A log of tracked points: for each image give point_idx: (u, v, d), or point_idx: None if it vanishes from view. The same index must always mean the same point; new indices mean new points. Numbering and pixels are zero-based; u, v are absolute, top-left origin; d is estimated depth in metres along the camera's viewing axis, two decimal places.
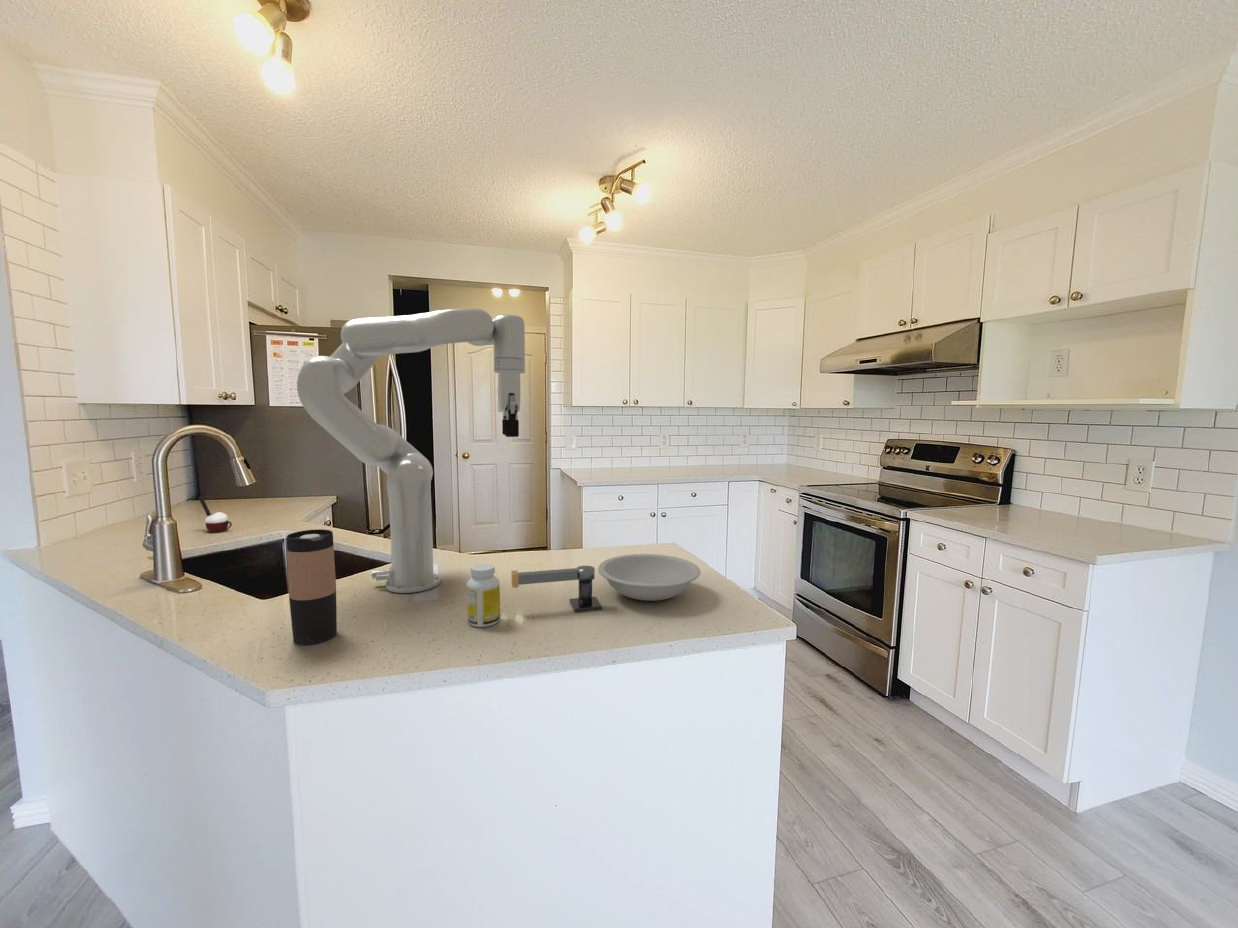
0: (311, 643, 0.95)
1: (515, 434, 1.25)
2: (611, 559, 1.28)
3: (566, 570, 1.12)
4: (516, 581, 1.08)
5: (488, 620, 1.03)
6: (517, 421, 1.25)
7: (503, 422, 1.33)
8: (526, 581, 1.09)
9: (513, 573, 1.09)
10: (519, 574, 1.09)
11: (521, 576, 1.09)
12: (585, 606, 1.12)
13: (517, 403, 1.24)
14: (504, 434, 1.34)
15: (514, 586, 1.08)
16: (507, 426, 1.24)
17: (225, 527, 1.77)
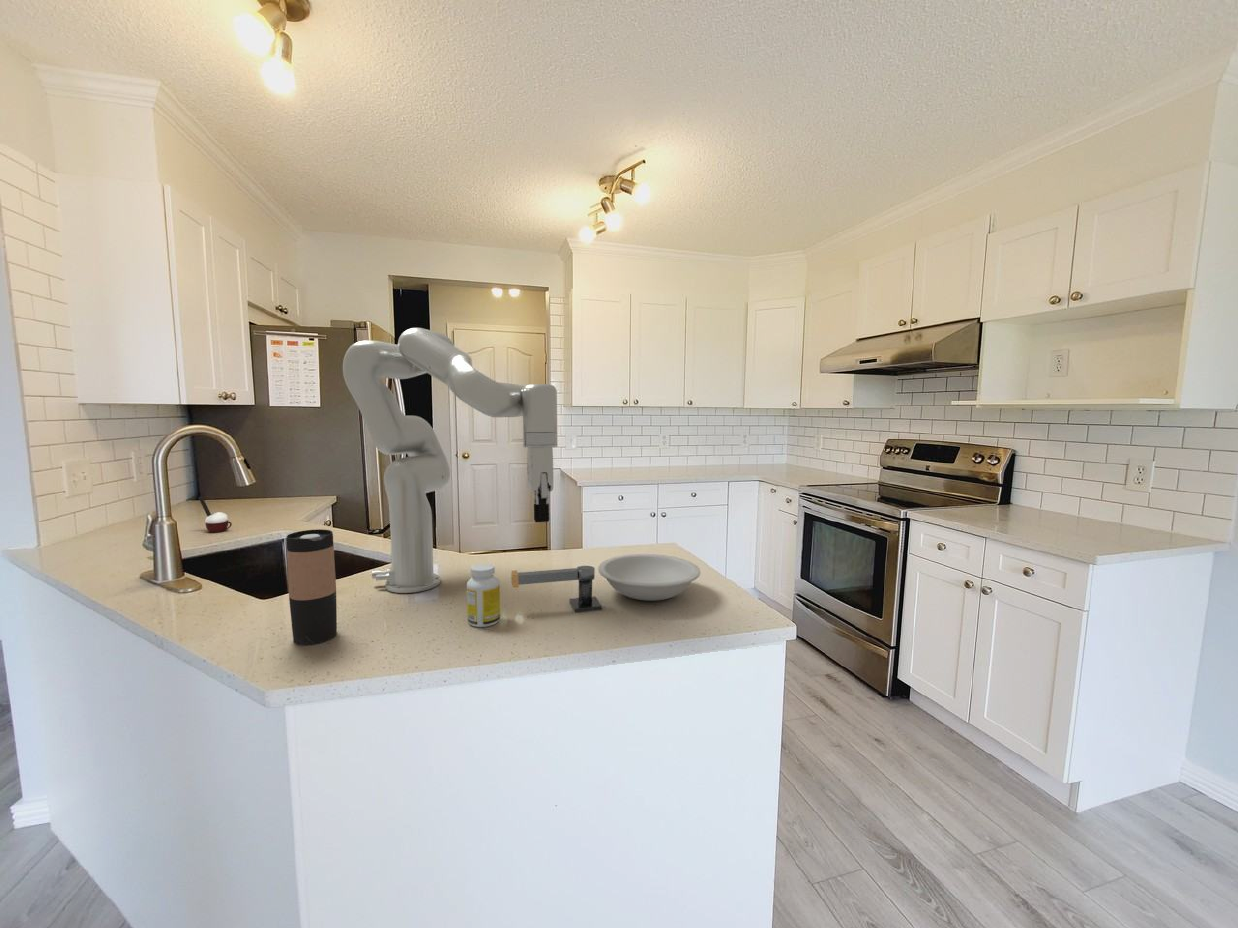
0: (311, 643, 0.95)
1: (545, 519, 1.16)
2: (611, 559, 1.28)
3: (566, 570, 1.12)
4: (516, 581, 1.08)
5: (488, 620, 1.03)
6: (547, 505, 1.16)
7: None
8: (526, 581, 1.09)
9: (513, 573, 1.09)
10: (519, 574, 1.09)
11: (521, 576, 1.09)
12: (585, 606, 1.12)
13: (549, 491, 1.13)
14: None
15: (514, 586, 1.08)
16: (537, 511, 1.15)
17: (225, 527, 1.77)
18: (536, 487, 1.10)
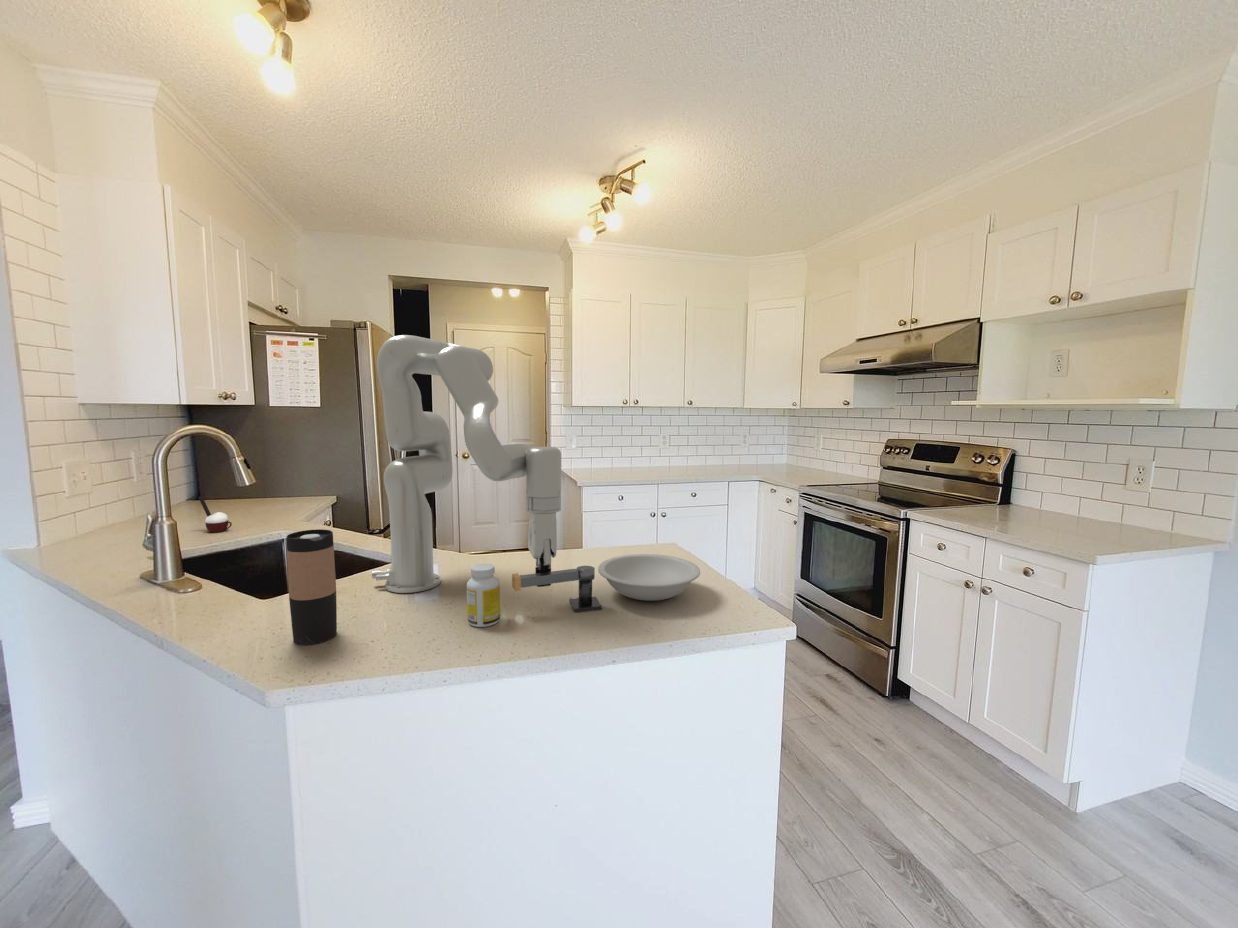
0: (311, 643, 0.95)
1: None
2: (611, 559, 1.28)
3: (567, 571, 1.12)
4: (518, 584, 1.06)
5: (488, 620, 1.03)
6: (549, 569, 1.13)
7: None
8: (529, 584, 1.08)
9: (515, 576, 1.07)
10: (521, 577, 1.08)
11: (523, 579, 1.07)
12: (585, 606, 1.12)
13: None
14: None
15: (516, 589, 1.06)
16: None
17: (225, 527, 1.77)
18: (539, 554, 1.08)
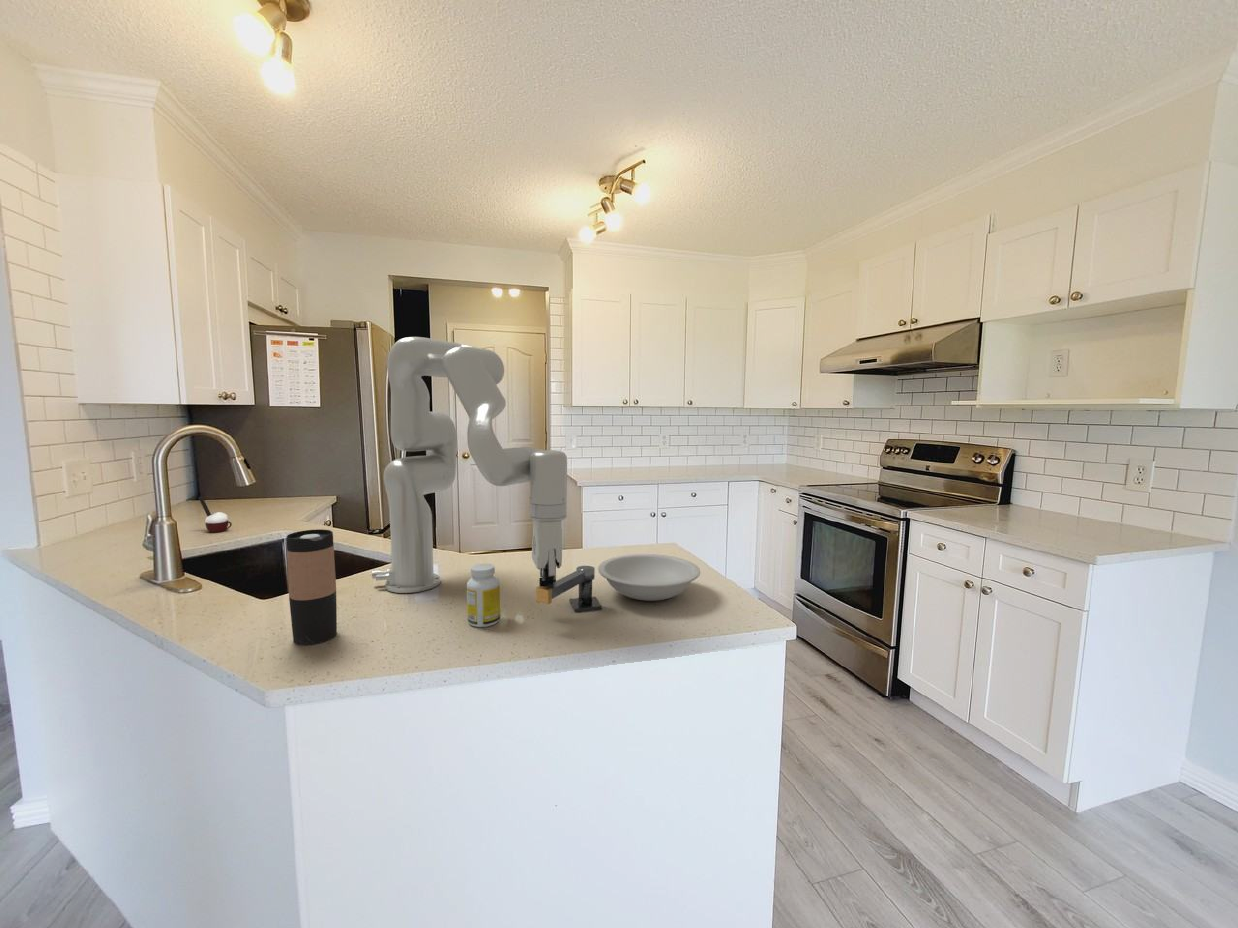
0: (311, 643, 0.95)
1: None
2: (611, 559, 1.28)
3: (575, 574, 1.10)
4: (550, 596, 1.00)
5: (488, 620, 1.03)
6: (554, 580, 1.07)
7: None
8: (555, 594, 1.02)
9: (545, 589, 1.00)
10: None
11: (552, 590, 1.01)
12: (585, 606, 1.12)
13: (557, 567, 1.04)
14: None
15: (549, 602, 1.00)
16: (543, 586, 1.06)
17: (225, 527, 1.77)
18: (543, 565, 1.01)
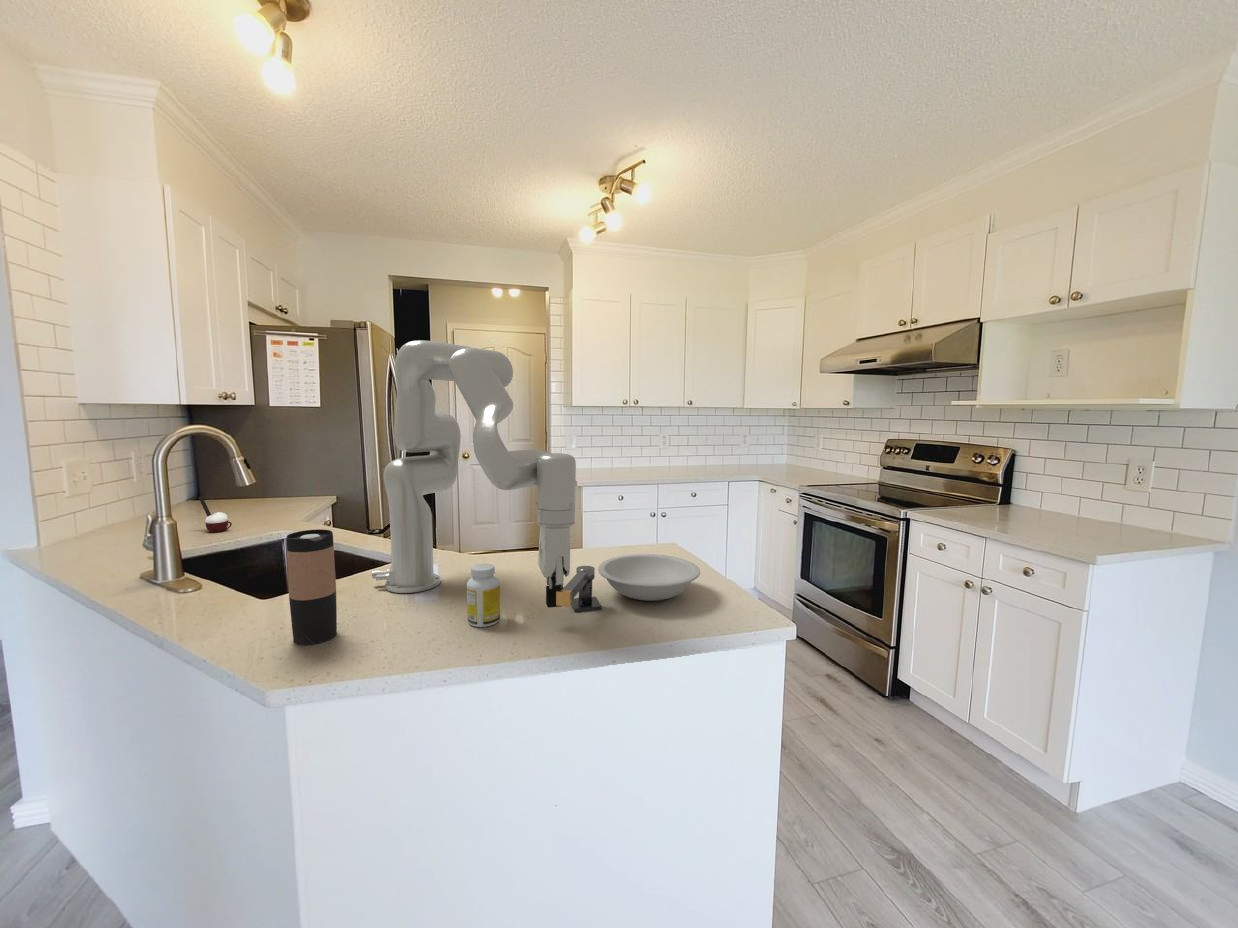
0: (311, 643, 0.95)
1: None
2: (611, 559, 1.28)
3: (580, 574, 1.10)
4: (571, 598, 0.99)
5: (488, 620, 1.03)
6: (561, 588, 1.03)
7: None
8: (572, 596, 1.01)
9: (566, 591, 0.98)
10: None
11: None
12: (585, 606, 1.12)
13: (565, 575, 1.00)
14: None
15: (570, 604, 0.99)
16: (549, 595, 1.02)
17: (225, 527, 1.77)
18: (550, 573, 0.97)
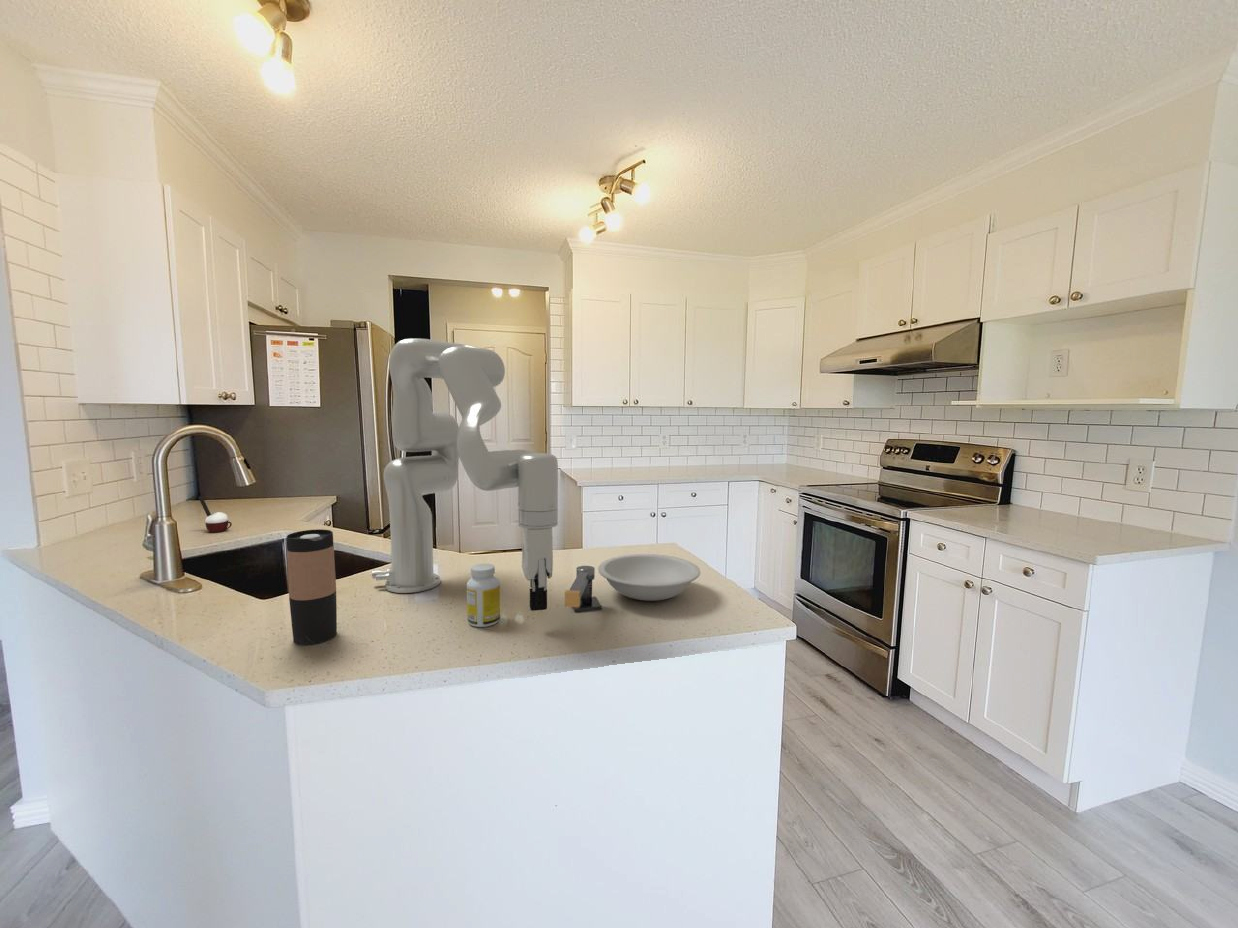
0: (311, 643, 0.95)
1: (543, 606, 1.01)
2: (611, 559, 1.28)
3: (582, 575, 1.10)
4: None
5: (488, 620, 1.03)
6: (545, 591, 1.01)
7: None
8: (579, 596, 1.01)
9: (575, 592, 0.98)
10: None
11: None
12: (585, 606, 1.12)
13: (548, 577, 0.98)
14: None
15: (579, 605, 0.98)
16: (533, 598, 1.00)
17: (225, 527, 1.77)
18: (532, 575, 0.95)
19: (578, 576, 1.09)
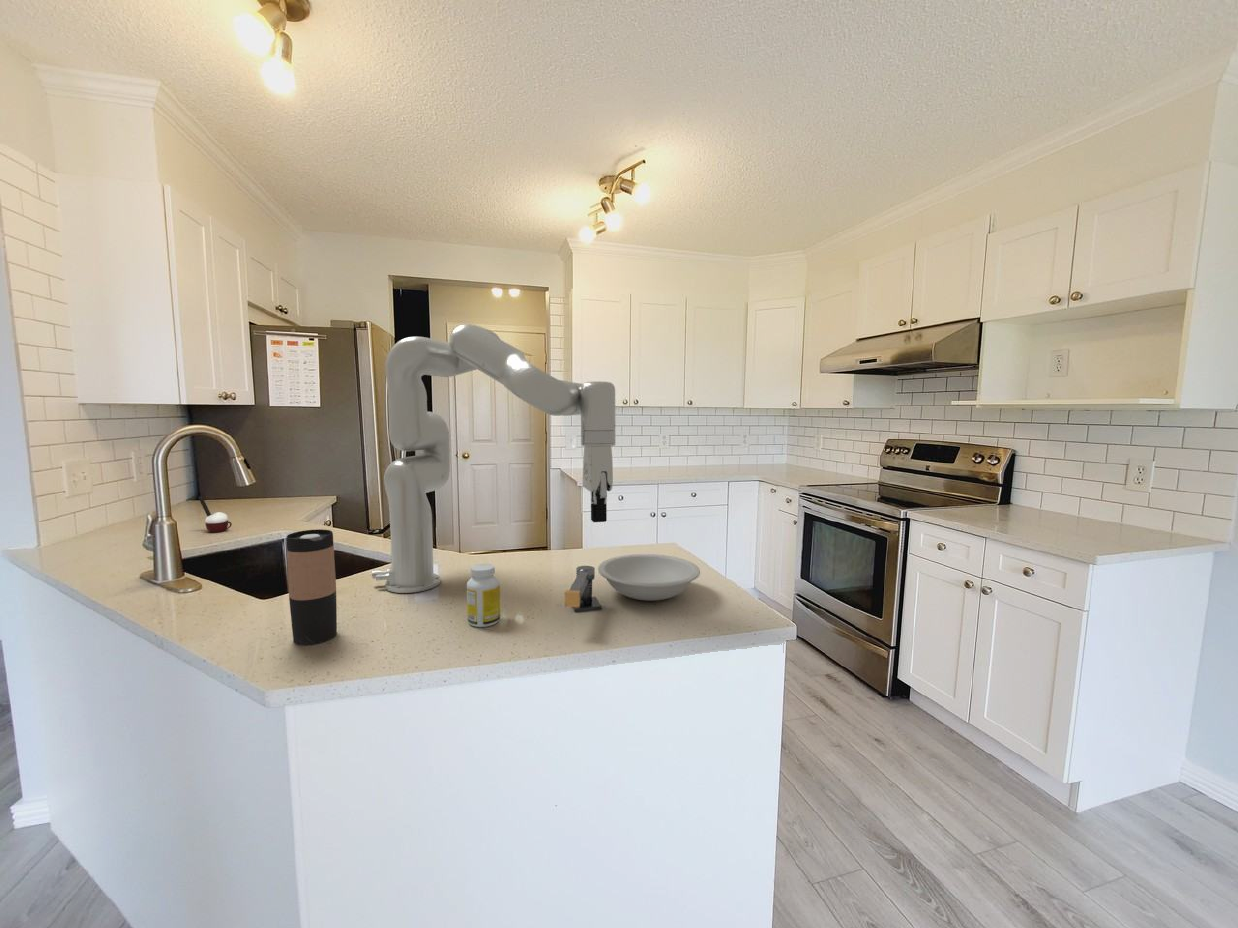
0: (311, 643, 0.95)
1: (603, 519, 1.14)
2: (611, 559, 1.28)
3: (582, 575, 1.10)
4: None
5: (488, 620, 1.03)
6: (605, 505, 1.14)
7: None
8: (579, 596, 1.01)
9: (575, 592, 0.98)
10: None
11: None
12: (585, 606, 1.12)
13: (608, 490, 1.11)
14: None
15: (579, 605, 0.98)
16: (594, 511, 1.13)
17: (225, 527, 1.77)
18: (596, 486, 1.08)
19: (578, 576, 1.09)
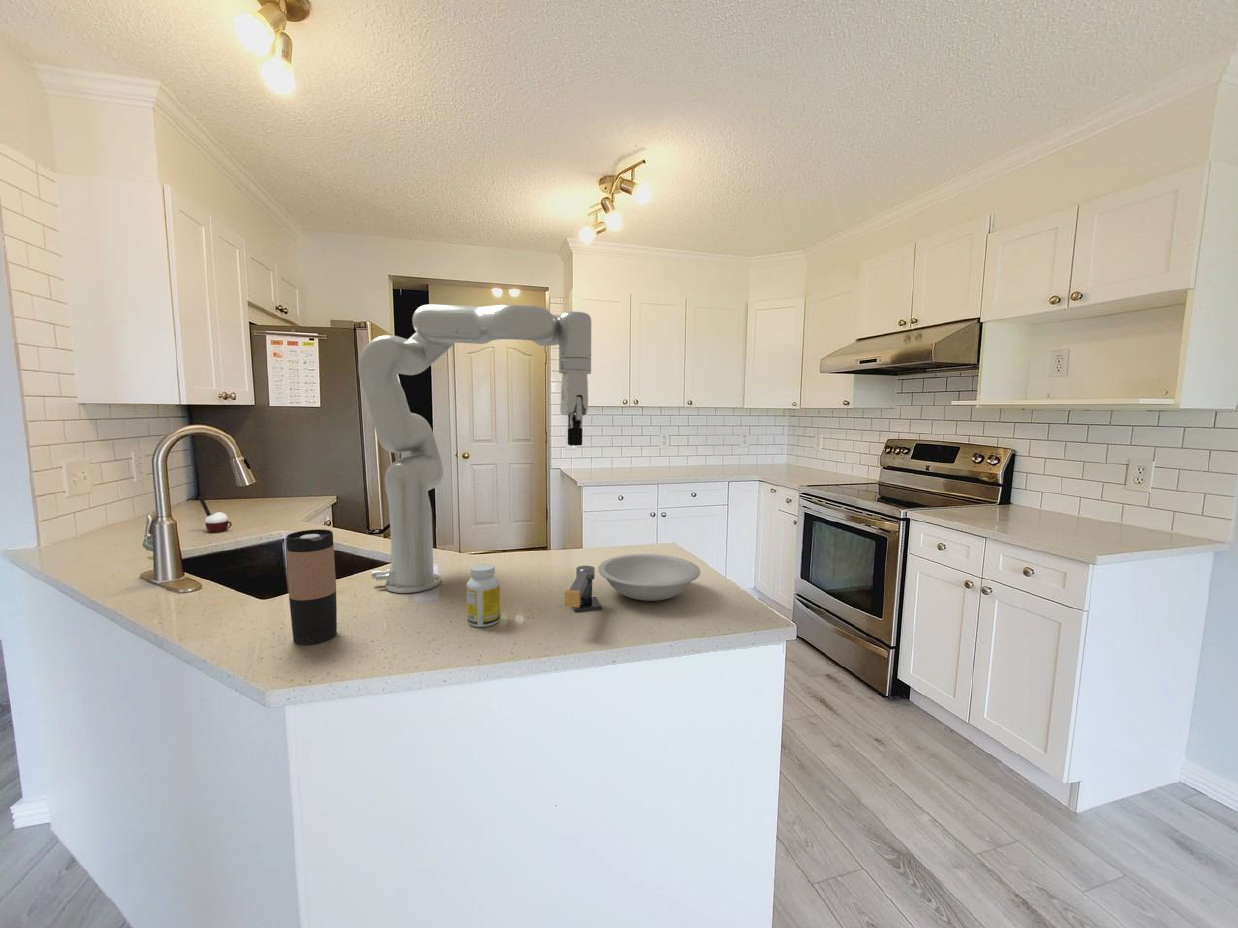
0: (311, 643, 0.95)
1: (578, 443, 1.22)
2: (611, 559, 1.28)
3: (582, 575, 1.10)
4: None
5: (488, 620, 1.03)
6: (581, 429, 1.22)
7: None
8: (579, 596, 1.01)
9: (575, 592, 0.98)
10: None
11: None
12: (585, 606, 1.12)
13: (583, 414, 1.19)
14: None
15: (579, 605, 0.98)
16: (571, 434, 1.21)
17: (225, 527, 1.77)
18: (572, 409, 1.16)
19: (578, 576, 1.09)
